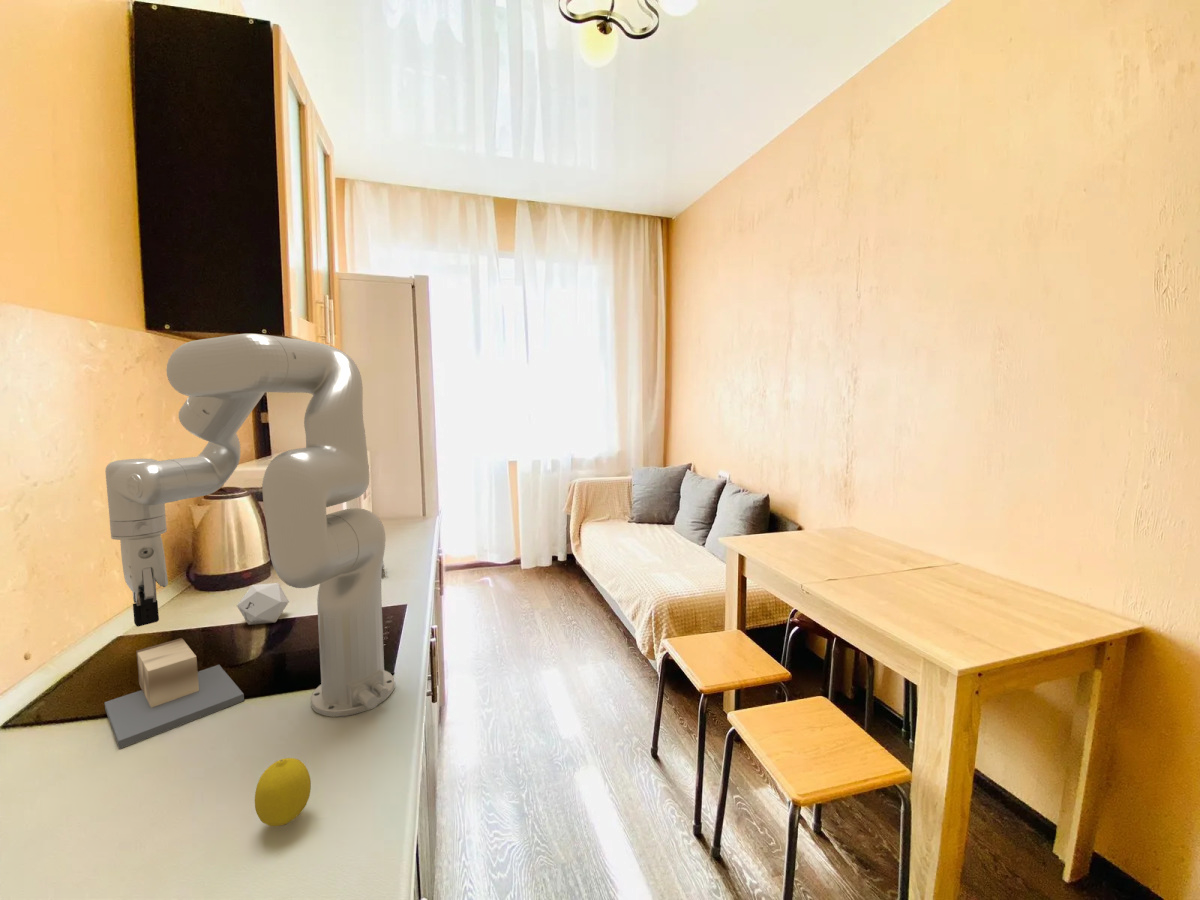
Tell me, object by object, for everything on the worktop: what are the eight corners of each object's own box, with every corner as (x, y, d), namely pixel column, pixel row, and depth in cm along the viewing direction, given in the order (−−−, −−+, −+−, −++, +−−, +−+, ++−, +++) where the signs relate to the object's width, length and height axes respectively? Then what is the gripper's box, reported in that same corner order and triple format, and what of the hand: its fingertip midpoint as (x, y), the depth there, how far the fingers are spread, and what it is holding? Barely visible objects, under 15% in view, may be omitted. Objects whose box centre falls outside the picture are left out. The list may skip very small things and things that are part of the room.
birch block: (184, 670, 89) (199, 690, 83) (139, 684, 85) (151, 707, 78) (181, 637, 89) (196, 656, 82) (136, 650, 84) (148, 671, 78)
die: (238, 622, 113) (223, 598, 106) (273, 592, 119) (260, 567, 113) (266, 639, 111) (253, 616, 104) (300, 608, 118) (289, 584, 111)
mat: (244, 700, 82) (243, 693, 82) (119, 748, 71) (118, 741, 71) (219, 670, 91) (219, 664, 91) (105, 709, 80) (104, 702, 80)
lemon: (245, 835, 57) (240, 770, 56) (290, 799, 62) (287, 739, 61) (279, 851, 55) (275, 783, 54) (323, 812, 60) (320, 750, 59)
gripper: (175, 529, 89) (182, 628, 91) (157, 516, 99) (164, 606, 101) (117, 538, 84) (126, 643, 85) (104, 523, 93) (112, 618, 95)
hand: (146, 622), depth 93 cm, fingers closed
